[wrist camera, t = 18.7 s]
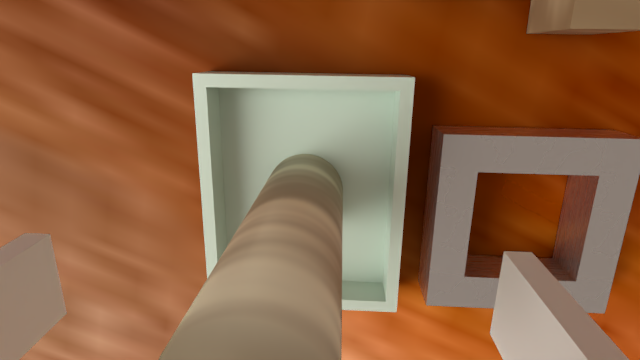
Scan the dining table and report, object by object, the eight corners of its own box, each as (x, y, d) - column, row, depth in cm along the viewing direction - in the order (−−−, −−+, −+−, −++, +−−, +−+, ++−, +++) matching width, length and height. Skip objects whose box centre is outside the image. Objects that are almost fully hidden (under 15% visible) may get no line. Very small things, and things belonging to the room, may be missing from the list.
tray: (209, 71, 21) (192, 73, 19) (406, 74, 21) (415, 77, 18) (222, 279, 25) (209, 303, 22) (391, 286, 24) (396, 312, 22)
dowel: (267, 152, 22) (143, 312, 8) (344, 155, 21) (344, 324, 8) (268, 223, 23) (160, 465, 9) (341, 226, 23) (337, 478, 9)
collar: (432, 125, 21) (443, 134, 19) (613, 129, 21) (648, 139, 18) (418, 280, 24) (426, 305, 21) (578, 286, 23) (604, 313, 21)
